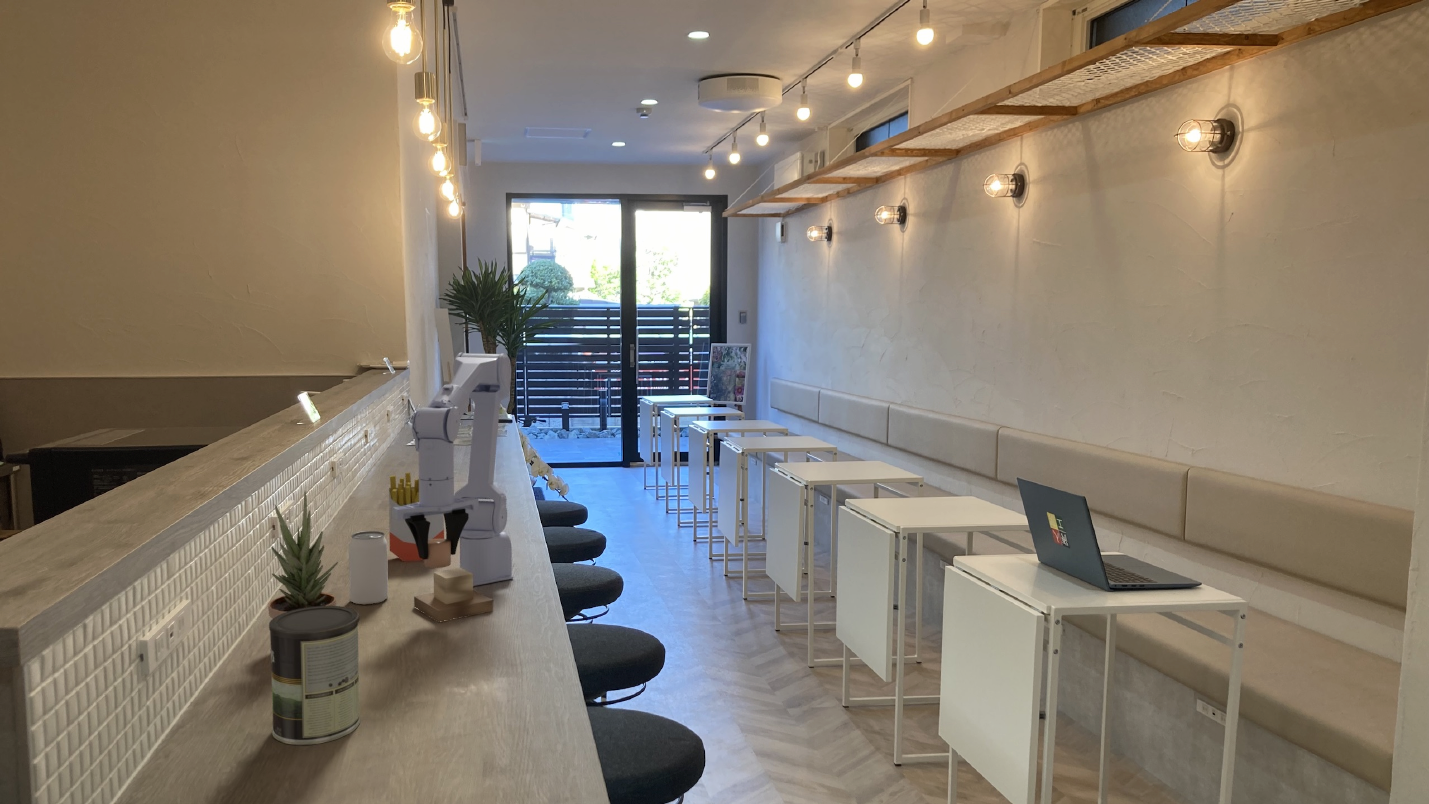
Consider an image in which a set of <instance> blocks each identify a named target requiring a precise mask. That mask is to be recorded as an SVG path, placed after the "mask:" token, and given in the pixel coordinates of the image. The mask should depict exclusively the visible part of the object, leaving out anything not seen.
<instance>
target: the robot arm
mask: <svg viewBox="0 0 1429 804" xmlns="http://www.w3.org/2000/svg"><path fill="white" fill-rule="evenodd" d="M511 364H512V363H511V361H510V357H509V356H508V354H506V353H503V352H502V353H467V352H466V353H465V352H459V353H458V354H457V355H456V356H455V358H454V360H453V368H452V371H453V373H452V374H453V378H452V380H451V382H450V384H449V383H448V384H444V385H443V386H442V387H440V388H439V390H438V391H437V393H436V394H435V396H434V397H433V398H432V400H431V401H430V403H429V404H428V405H427V406H426V407H425V406H424V407H420V409H419V410H416V411H415V412H414V414H413V417H412V424H411V432H412V437H413V440H414V449H415V451H416V452H418V479H419V502H418V503H413V504H409V505H405V506H400V507H393V519H395V520H397V521H400V520H404V519H405V522H406V523H407V525H408V527H409V529H410V531H411V533H412V535H413V537H414V540H415V542H416V546H417V549H418V554H419V557H420V558H421V559H423V560H422V561H424V560H425V559H428V534H429V527H430V522H429V521H426V518H425V516H429V515H436V514H444V527H445V539H448V540H450V541H451V556H453V555H454V556H455V555H456V553H457V548H458V544H459V568H462V569H464V570H466V571H468V572H470V573H472V574H473V587H476V586H480V585H486V584H491V583H497V582H501V581H506V580H507V581H508V580H513V579H514V578H515V577H514V575H513V574H512V573H513V572H512V571H513V570H512V569H513V568H512V567H513V566H512V561H513V559H512V558H513V557H512V556H513V555H512V554H513V553H512V552H513V549H512V548H513V547H512V542H511V538H510V536H509V535H508V533H507V532H505V531H504V530H505V528H506V525H507V523H508V522H507V521H508V510H507V509H508V508H507V496H506V494H505V493H504V492H503V491H502V490H501V489H500V488H498V487H497V486H496V485H495V484H494V480H495V469H496V468H495V464H496V456H497V443H498V433H499V431H498V429H499V422H500V421H499V417H500V411H501V410H500V409H501V404H502V401H503V400H505V399H507V398H509V396H510V395H509V394H510V390H511V380H512V366H511ZM470 400H472V402H473V404H474V409H473V421H472V433H471V442H470V443H471V444H470V454H469V466H468V477H467V478H468V479H467V483H466V484H465V485H463V487H461V488H460V489H458V490H456V491H455V476H454V475H455V472H454V468H455V467H454V464H455V463H454V462H455V461H454V455H455V454H454V453H455V452H454V442H455V440H457V438H458V435H459V430H460V426H461V423H462V421H461V418H462V417H463V415H464V413H466V410H467V408H468V407H469V405H470ZM491 500H493V501H491Z"/></svg>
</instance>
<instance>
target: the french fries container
mask: <svg viewBox="0 0 1429 804" xmlns="http://www.w3.org/2000/svg"><path fill="white" fill-rule="evenodd" d="M404 474H405V475H404V476H405V477H399V482H398V483H397V477H396V475H390V476H389V483H390V487H388V488H389V489H388V514H389V515H388V517H389V519H388V520H389V521H388V523H389V525H388V527H389V529H388V535H389V538H388V539H389V551H390V552H391V553H392V554H394V555H395V556H396V557H397V558H398V559H400V560H401V561H402V562H417V561H418V562H419V561H424V560H423V559H421V558H420V557H419V554H418V549H417V546H416V542H415V540H414V537H413V535H412V533H411V531H410V529H409V527H408V525H407V523H406V522H405V519H404V520H400V521H397V520H395V519H393V507H400V506H405V505H409V504H413V503H418V502H419V478H416V479H414V484H413V485H414V486H412V482H411V479H412V478H411V472H405V473H404ZM397 485H398V486H397ZM425 518H426V521H429V522H430V527H429V534H428V540H430V539H445V520H444V514H436V515H429V516H425Z"/></svg>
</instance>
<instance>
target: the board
mask: <svg viewBox="0 0 1429 804" xmlns="http://www.w3.org/2000/svg"><path fill="white" fill-rule="evenodd" d="M413 602H414V603H413V606H414V607H416V608H418V609H419V610H420V611H419V610H418V611H419V612H421V611H422V612H424V613H425V614H424V613H423V614H424V615H426V616H427V615H428V616H427V617H429V616H430V617H429V618H431V617H432V618H433V619H432V618H431V619H432V620H434V619H435V620H434V621H436V620H437V621H439V622H438V623H441V622H440V621H443V622H445V621H444V620H448V621H451V620H450V619H453V618H457V619H460V618H459V617H462V618H465V616H467V617H472V616H476V615H481V614H485V612H486V613H490V612H494V599H492V598H490V597H488V596H486V595H484V594H483V593H481V592H478V591H477V590H474V589H473V599H470V600H465V601H460V602H455V603H450V604H445V603H443V602H441V601H440V600H438V599H436V598H435V597H434V592H431V593H425V594H421V595H420V594H419V595H415V596H413ZM416 608H415V609H416ZM422 612H421V613H422ZM480 613H481V614H480ZM471 615H472V616H471ZM453 620H454V619H453ZM437 621H436V622H437Z"/></svg>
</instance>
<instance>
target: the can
mask: <svg viewBox="0 0 1429 804" xmlns="http://www.w3.org/2000/svg"><path fill="white" fill-rule="evenodd" d="M350 537H351V539H350V541H349V543H348V574H349V575H348V576H349V577H348V579H349V601H350V602H351V603H352V602H353V603H352V604H354V603H356V604H355V605H357V604H372V605H374V604H373V603H377V604H380V603H379V602H381V603H383V602H385V601H386V600H387V598H388V596H389V580H388V579H389V574H388V573H389V572H388V571H389V570H388V569H389V568H388V562H389V561H388V540H387V539H386V537H385V532H383V531H377V530H369V531H368V530H367V531H359V532H355V533H353V534H351V535H350ZM385 599H386V600H385ZM384 600H385V601H384ZM382 601H383V602H382Z"/></svg>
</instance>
